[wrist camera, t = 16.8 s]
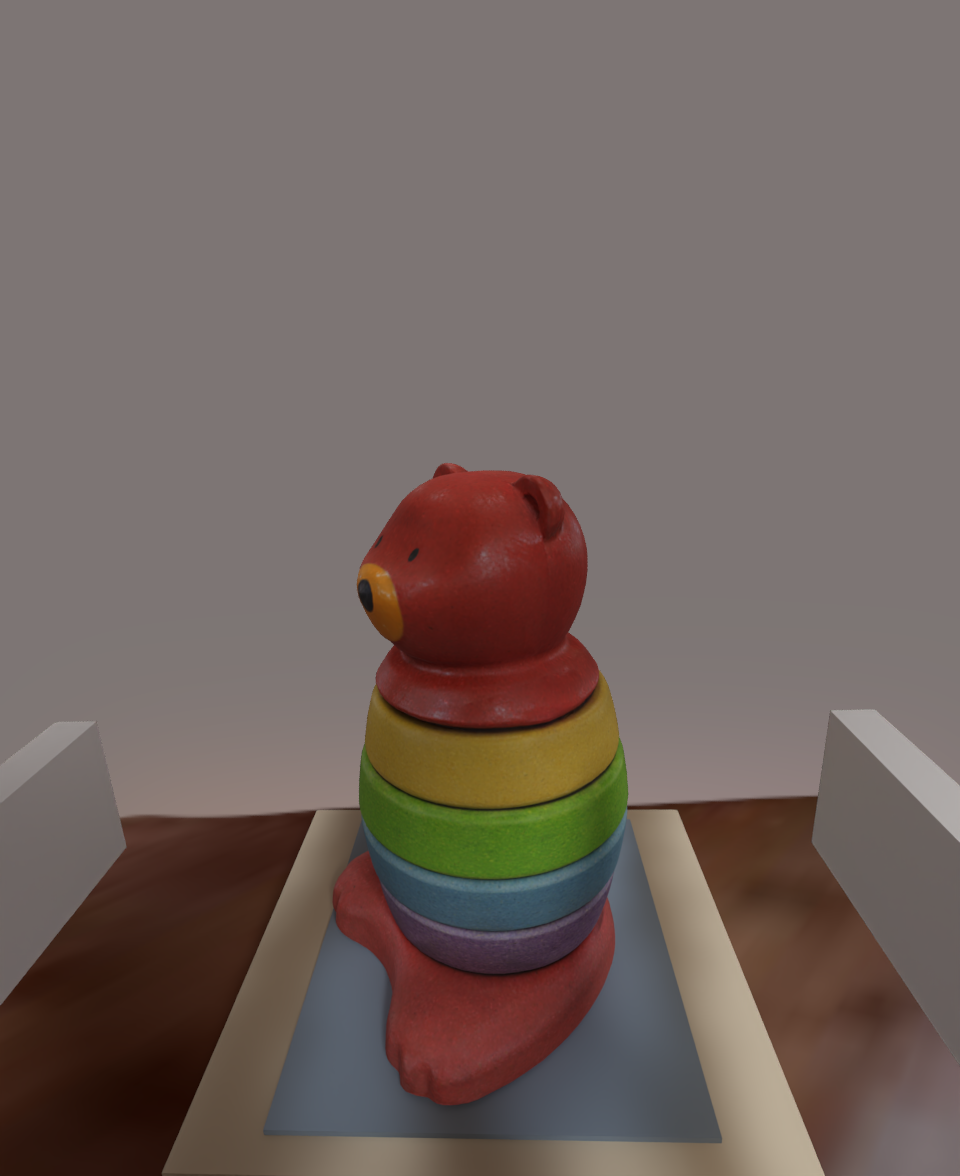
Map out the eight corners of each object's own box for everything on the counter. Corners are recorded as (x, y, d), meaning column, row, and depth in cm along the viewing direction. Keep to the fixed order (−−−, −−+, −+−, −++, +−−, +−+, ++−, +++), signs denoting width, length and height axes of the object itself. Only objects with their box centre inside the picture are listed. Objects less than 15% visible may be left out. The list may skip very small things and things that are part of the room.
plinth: (673, 860, 34) (677, 806, 33) (814, 1260, 18) (830, 1181, 17) (322, 859, 34) (316, 806, 33) (179, 1243, 19) (160, 1167, 18)
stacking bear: (322, 889, 28) (271, 463, 22) (529, 817, 32) (528, 444, 27) (415, 1140, 19) (367, 517, 13) (688, 991, 23) (736, 474, 17)
